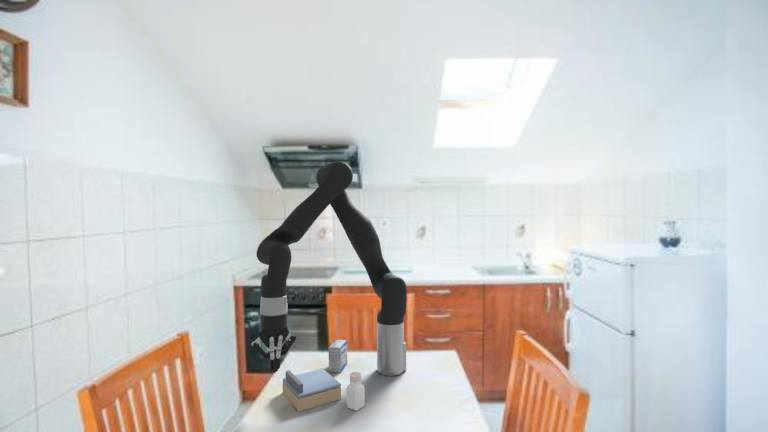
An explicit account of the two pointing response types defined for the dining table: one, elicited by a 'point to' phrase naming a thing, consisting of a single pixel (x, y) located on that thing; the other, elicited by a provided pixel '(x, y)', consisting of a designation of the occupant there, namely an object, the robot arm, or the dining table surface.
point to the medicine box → (338, 356)
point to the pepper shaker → (355, 392)
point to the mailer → (312, 398)
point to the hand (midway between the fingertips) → (274, 370)
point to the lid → (310, 382)
